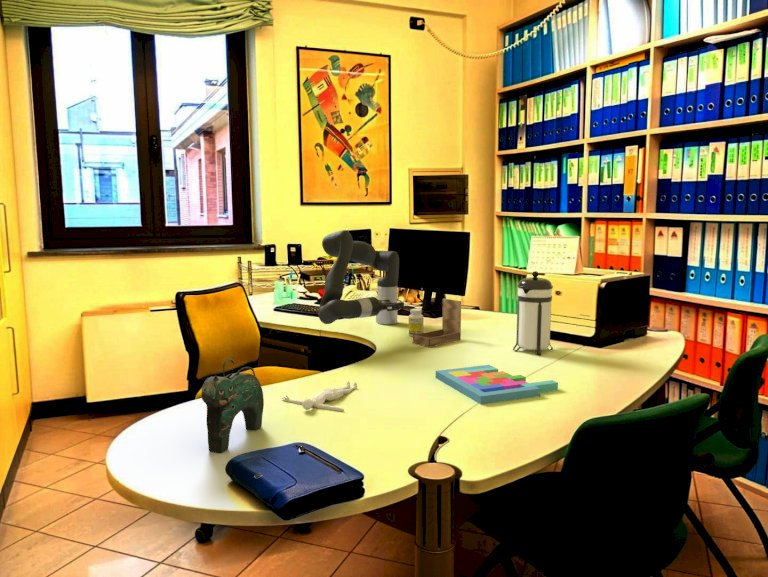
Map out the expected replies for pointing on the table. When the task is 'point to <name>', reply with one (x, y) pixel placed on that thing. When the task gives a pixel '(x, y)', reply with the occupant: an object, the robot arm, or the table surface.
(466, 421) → the table surface
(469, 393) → the tetris game
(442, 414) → the table surface
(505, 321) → the table surface
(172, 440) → the table surface
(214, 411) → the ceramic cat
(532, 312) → the coffee press
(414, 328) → the pill bottle
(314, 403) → the figure model
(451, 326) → the brown angle bracket
